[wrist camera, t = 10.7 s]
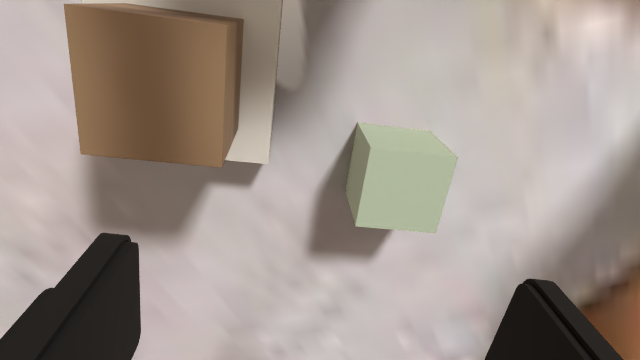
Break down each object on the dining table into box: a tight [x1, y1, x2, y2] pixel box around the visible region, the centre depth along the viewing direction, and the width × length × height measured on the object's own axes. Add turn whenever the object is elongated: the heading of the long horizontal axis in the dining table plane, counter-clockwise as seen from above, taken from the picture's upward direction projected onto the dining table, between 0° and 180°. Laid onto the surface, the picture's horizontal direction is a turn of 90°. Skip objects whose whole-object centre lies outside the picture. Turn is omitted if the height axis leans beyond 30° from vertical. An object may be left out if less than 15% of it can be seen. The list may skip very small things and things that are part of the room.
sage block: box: [345, 122, 458, 233], centre depth 26 cm, size 5×5×5 cm
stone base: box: [81, 0, 283, 164], centre depth 23 cm, size 10×10×2 cm
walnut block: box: [64, 3, 244, 167], centre depth 19 cm, size 6×6×6 cm
